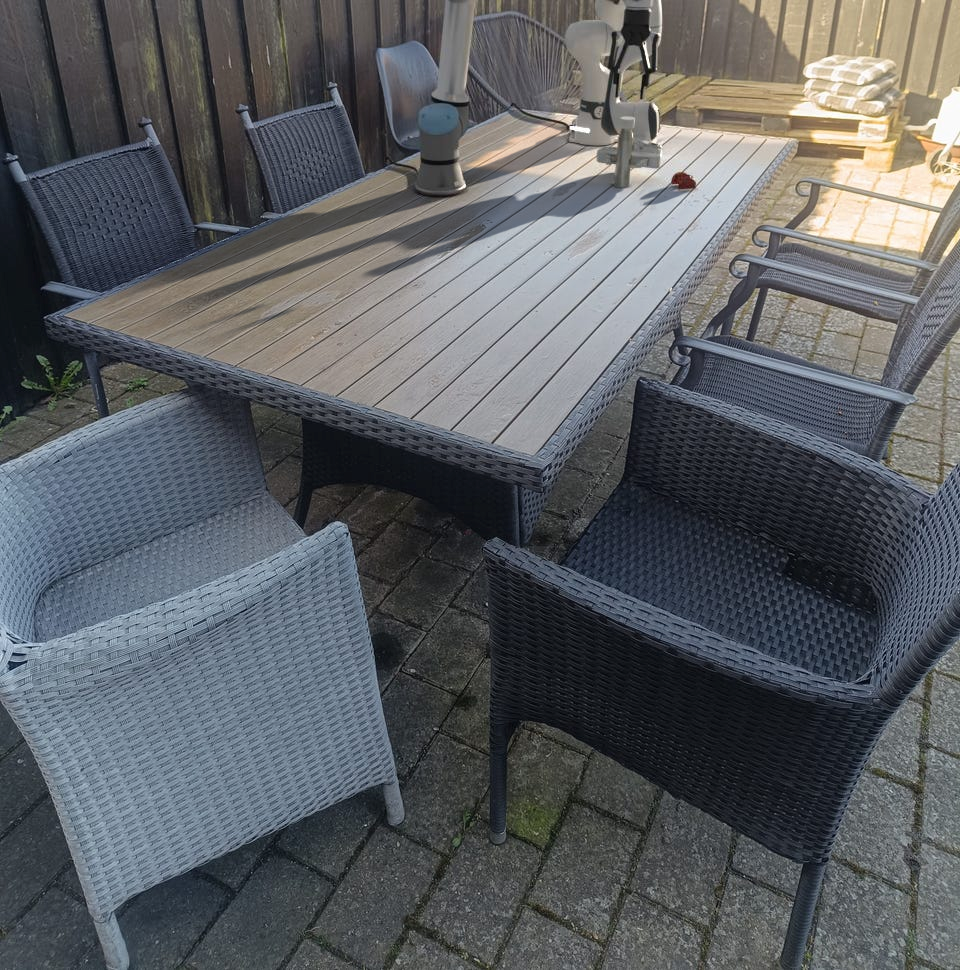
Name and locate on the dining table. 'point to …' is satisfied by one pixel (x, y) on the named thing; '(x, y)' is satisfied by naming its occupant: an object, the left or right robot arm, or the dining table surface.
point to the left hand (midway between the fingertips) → (629, 97)
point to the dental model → (683, 180)
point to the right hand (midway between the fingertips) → (623, 163)
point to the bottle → (623, 158)
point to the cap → (627, 122)
